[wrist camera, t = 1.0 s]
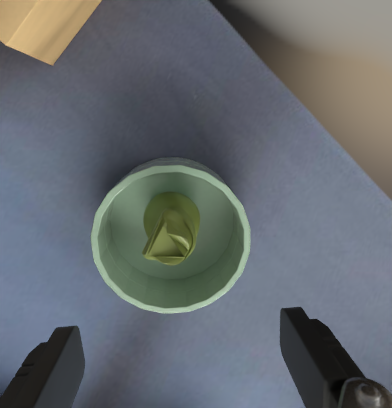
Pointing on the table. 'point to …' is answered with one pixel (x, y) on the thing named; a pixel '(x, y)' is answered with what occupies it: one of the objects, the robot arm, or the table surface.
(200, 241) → the pot
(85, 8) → the block
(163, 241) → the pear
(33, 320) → the table surface
